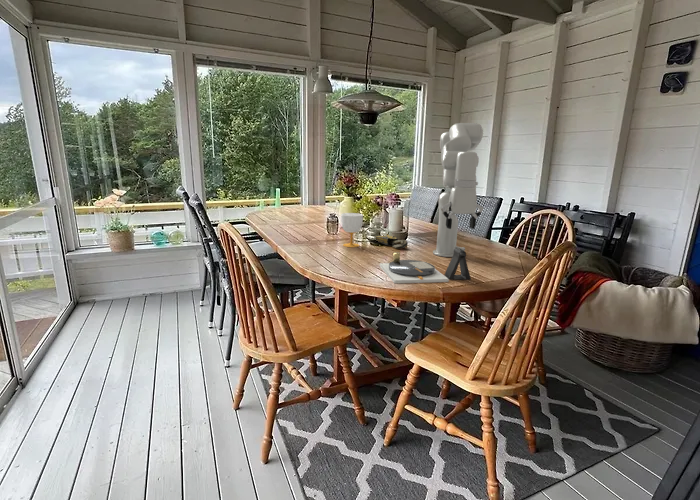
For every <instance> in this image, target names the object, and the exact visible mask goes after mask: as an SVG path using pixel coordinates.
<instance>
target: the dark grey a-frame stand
mask: <svg viewBox="0 0 700 500" xmlns="http://www.w3.org/2000/svg"><path fill="white" fill-rule="evenodd" d="M459 249H460V248H459ZM459 249H458V248H455V249H454V254H453V257H451V259H450V261H449V264H448V265H447V268H446V269H445V273H444V274H443V275H444V276H445V277H447V278H448V279H449V281H471V274H470V271H469V267H468V262H467V260H466V256H467V252H466V250H465V251H463V250H462V249H460V250H459ZM458 267H459V269H460V274H456V273H457V270H458Z"/></svg>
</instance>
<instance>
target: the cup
mask: <svg viewBox="0 0 700 500" xmlns="http://www.w3.org/2000/svg"><path fill="white" fill-rule="evenodd" d="M340 216H341V218H340V219H341V220H340V221H341V227H342V229H343V231H344V232H346V233H348V234H349V235H350V242H349V243H343V245H342V246H343V247H345V248H346V247H347V248H359V247H360V244H358V243H353V235H354V234H357V233H359V232H360V231H361V228H362V226H363V220H364V214H362V213H358V212H357V213H356V212H343V213H341V215H340Z"/></svg>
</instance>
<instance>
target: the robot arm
mask: <svg viewBox="0 0 700 500" xmlns="http://www.w3.org/2000/svg"><path fill="white" fill-rule="evenodd" d="M483 136H484V129H483V127H482V125H481V124H480V123H478V122H457V123H454V124H453V125H451V126H450V128H449V131H445V132H443V133H442V134H441V135H440V137H439V148H440V152H441V153H440V161H441V167H442V186H443V188H445V189H448V190H450V191H443V192H441V193H440V194H439V195H438V226H437V236H436V249H433V250H432V253H433V254H434V255H435V256H438V257H445V258H452V257H453V254H454V249H455V248H458V249H459V248H460V249H462V250H463V251H465V252H466V248H465V246H464V247H463V246H462V247H461V246H458V245H457V241H458V239H457V238H458V227H459V218H458V217H457V215H470V218H469V227H468V228H469V229H471V230H474V229H476V228H475V227H476V223H477V219H478V217H480V215H482V212H483V210H484V207H483V206H482V205H480V204H478V203H477V199H478V198H477V186H478V185H479V182H478V181H477V175H476V174H477V167H478V165H479V160H480V159H479V156H478V154H477V152H475V151H473V150H475V149H477V147H478V146H479V145H480V143H481V142H482V139H483ZM460 249H459V250H460Z"/></svg>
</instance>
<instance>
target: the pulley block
mask: <svg viewBox="0 0 700 500" xmlns="http://www.w3.org/2000/svg"><path fill="white" fill-rule="evenodd" d="M386 235H387V236H384V235H383V236H375V237H376V240H377V241H378V242H377V243H380V244H382V245H385V246H389V247H392V248H393V249H398V250H399V249H400V250H401V249H406V247H407V246H408V244H409V242H408V240H406V239H398V238H397V237H396V236H394V235H393V236H392V235H389V234H386Z"/></svg>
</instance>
